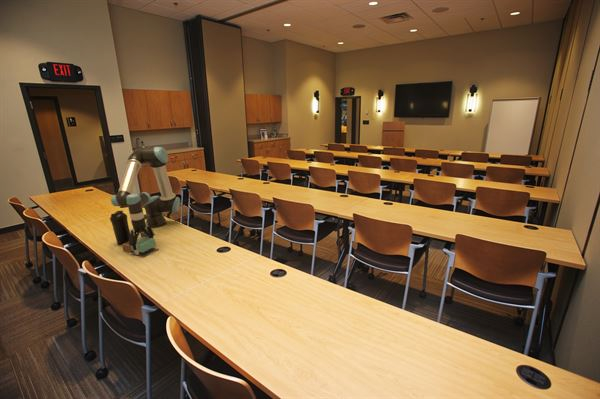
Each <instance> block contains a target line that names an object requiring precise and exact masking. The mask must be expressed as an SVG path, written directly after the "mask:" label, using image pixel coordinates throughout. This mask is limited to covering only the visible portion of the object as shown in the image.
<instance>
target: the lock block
mask: <svg viewBox="0 0 600 399" xmlns="http://www.w3.org/2000/svg"><path fill="white" fill-rule="evenodd" d="M148 232H149V231H148ZM139 235H140V238H142V237H146V238H149V237H148V236H147V235H146V234H145V233H144V232H141V233H140V234H139ZM152 239H154V237H153V238H152Z"/></svg>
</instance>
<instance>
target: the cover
mask: <svg viewBox="0 0 600 399" xmlns="http://www.w3.org/2000/svg"><path fill="white" fill-rule="evenodd" d="M136 245H137V246H138V250H139V252H145V251H147V250H149V249H151V248H155V247H156V241H155V238H153V239H152V238H146V237H142V238H141V237H140V238H139V239H137V243H136ZM131 249H132V250H133V246H131ZM133 251H135V250H133Z"/></svg>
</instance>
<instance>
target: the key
mask: <svg viewBox="0 0 600 399" xmlns="http://www.w3.org/2000/svg"><path fill="white" fill-rule="evenodd" d="M144 218H145V221H146V220H147V219H149V218H150V215H149V214H147V215H146V214H144ZM145 224H146V222H145ZM145 228H146V230H147V231H148V229H147V227H145ZM151 229H152V231H153V232H154V231H155V229H154V228H151Z"/></svg>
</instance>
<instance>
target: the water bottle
mask: <svg viewBox="0 0 600 399" xmlns="http://www.w3.org/2000/svg"><path fill="white" fill-rule="evenodd" d="M110 214H111V215H110V218H109V221H110V222H111V226H112V229H113V232H114V236H115V240H116V243H117V246H122V244H124V243H126V242H129V230H130V227H129V221H128V215H127V214H126V213H124V210H117V211H116V212H114V213H110Z"/></svg>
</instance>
